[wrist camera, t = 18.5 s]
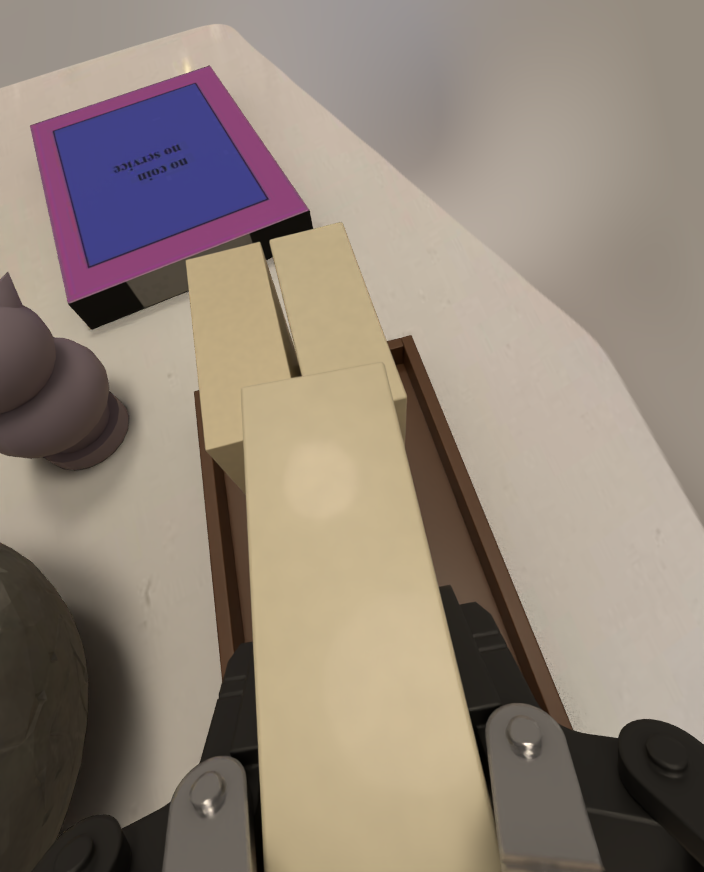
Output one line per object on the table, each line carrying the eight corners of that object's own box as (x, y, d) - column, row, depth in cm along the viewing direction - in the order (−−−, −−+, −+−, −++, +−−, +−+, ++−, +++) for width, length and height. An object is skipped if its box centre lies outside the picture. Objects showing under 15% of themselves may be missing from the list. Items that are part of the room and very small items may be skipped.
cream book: (389, 519, 22) (383, 359, 10) (440, 763, 17) (529, 958, 6) (320, 531, 22) (239, 386, 10) (352, 778, 17) (267, 1004, 6)
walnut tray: (410, 358, 33) (411, 334, 31) (570, 763, 21) (593, 777, 19) (208, 411, 33) (193, 391, 30) (259, 856, 21) (241, 883, 18)
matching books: (361, 380, 32) (342, 220, 20) (402, 508, 27) (407, 397, 16) (262, 406, 32) (185, 259, 20) (286, 540, 27) (205, 450, 15)
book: (209, 65, 51) (309, 209, 38) (219, 94, 54) (315, 239, 40) (29, 125, 48) (68, 303, 35) (49, 153, 51) (91, 329, 38)
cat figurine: (77, 372, 36) (-59, 249, 25) (159, 394, 34) (51, 272, 23) (10, 466, 32) (-182, 369, 21) (98, 496, 30) (-63, 406, 20)
